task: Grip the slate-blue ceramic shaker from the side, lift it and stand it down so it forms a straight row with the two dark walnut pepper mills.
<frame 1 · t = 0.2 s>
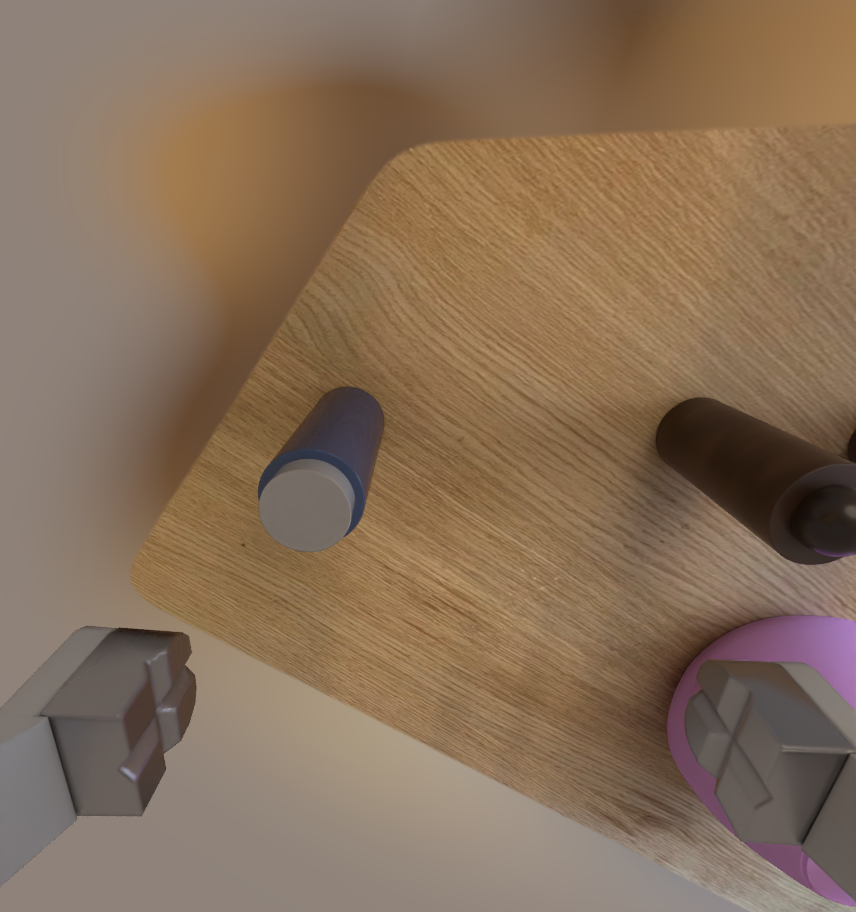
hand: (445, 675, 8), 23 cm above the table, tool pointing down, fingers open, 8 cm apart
blue shaker: (349, 421, 31), on the table
teapot: (756, 682, 39), on the table
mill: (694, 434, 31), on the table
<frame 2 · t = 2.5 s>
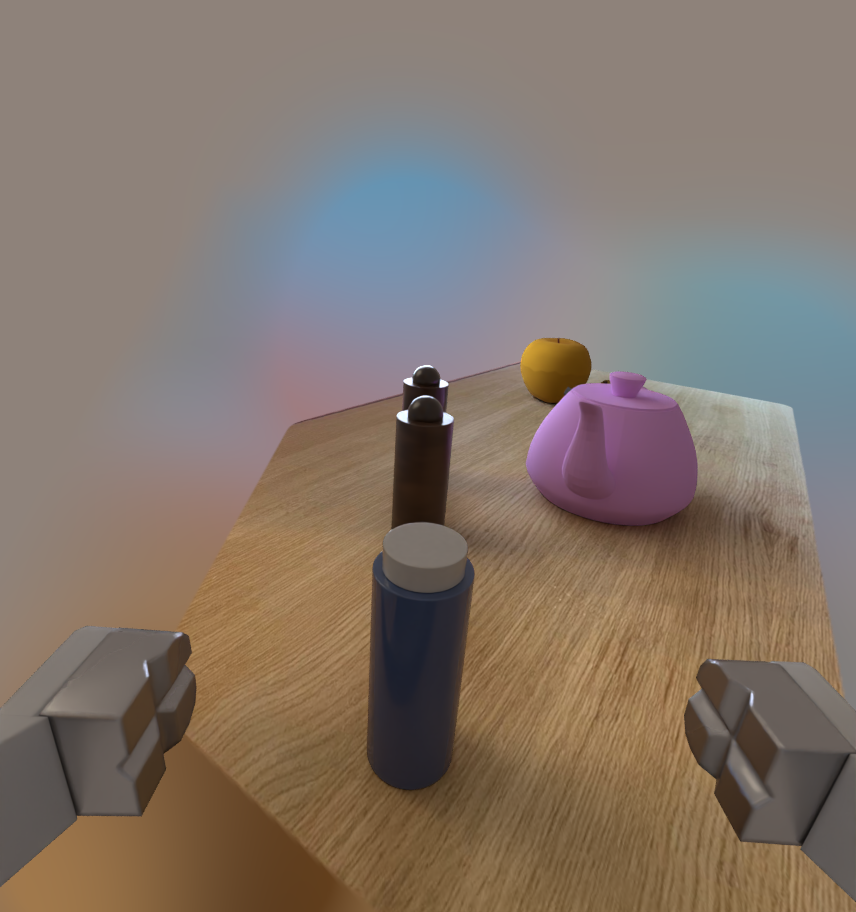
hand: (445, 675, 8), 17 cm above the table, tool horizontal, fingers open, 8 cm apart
blue shaker: (409, 747, 25), on the table
teapot: (599, 498, 55), on the table
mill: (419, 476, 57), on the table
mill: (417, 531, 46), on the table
banana: (606, 396, 100), on the table
apple: (550, 399, 95), on the table
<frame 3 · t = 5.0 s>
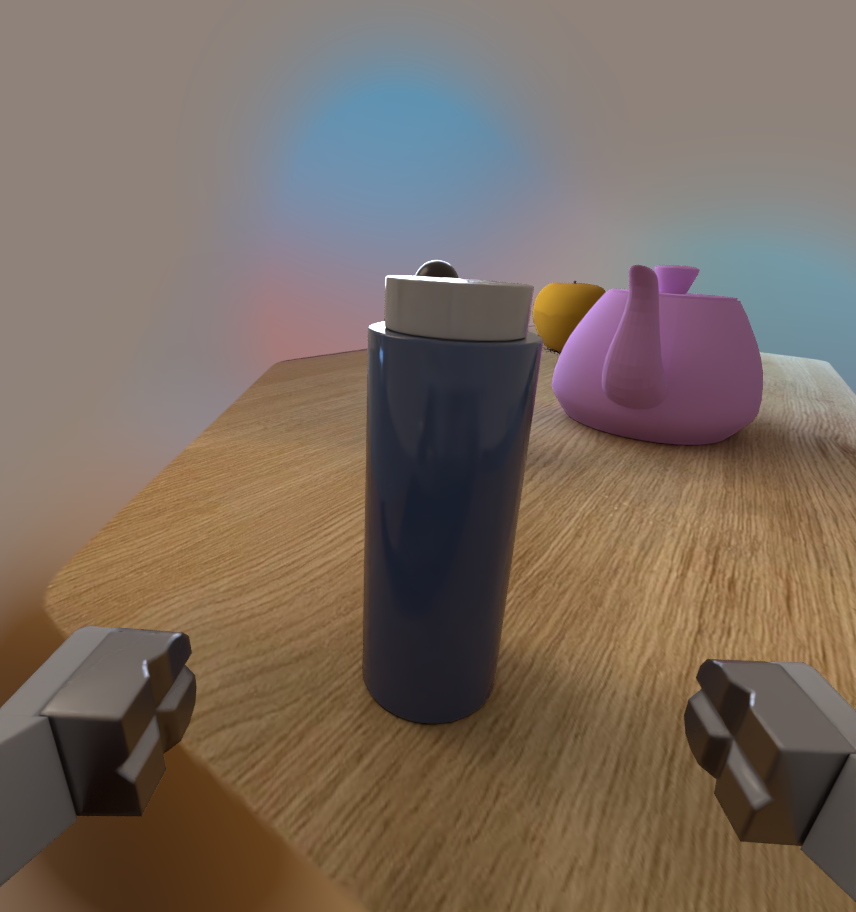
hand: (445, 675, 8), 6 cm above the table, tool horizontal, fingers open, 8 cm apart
blue shaker: (428, 667, 17), on the table
teapot: (639, 423, 46), on the table
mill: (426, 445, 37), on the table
apple: (565, 351, 86), on the table
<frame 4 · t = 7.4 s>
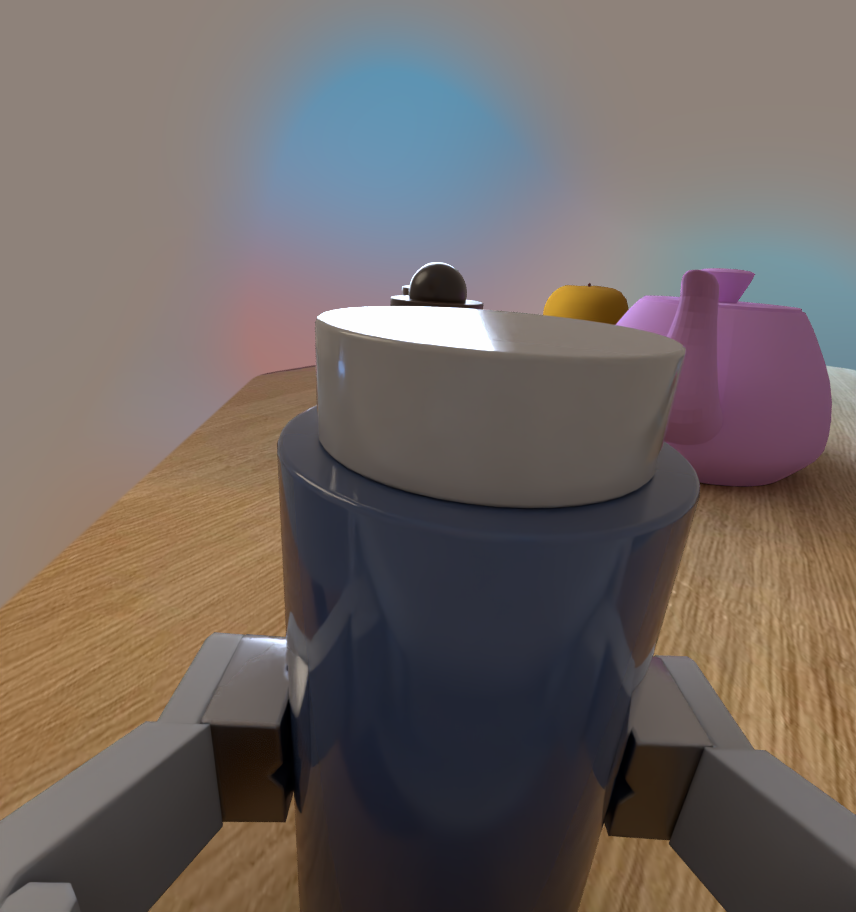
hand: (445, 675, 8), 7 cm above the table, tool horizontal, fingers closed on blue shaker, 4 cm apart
teapot: (676, 454, 39), on the table
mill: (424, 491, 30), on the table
apple: (578, 360, 79), on the table
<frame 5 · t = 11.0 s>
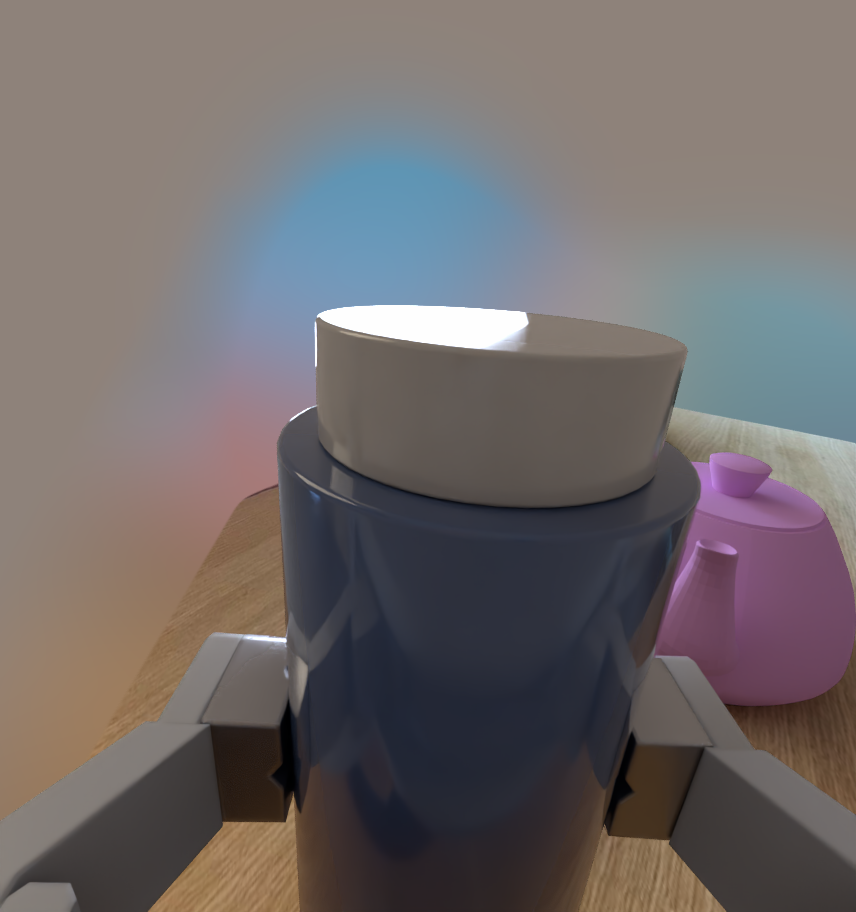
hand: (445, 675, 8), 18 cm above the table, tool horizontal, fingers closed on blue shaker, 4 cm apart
teapot: (685, 636, 37), on the table
when the fingers open (7 cm above the table, at t = 14.7 s): blue shaker stays where it is, on the table.
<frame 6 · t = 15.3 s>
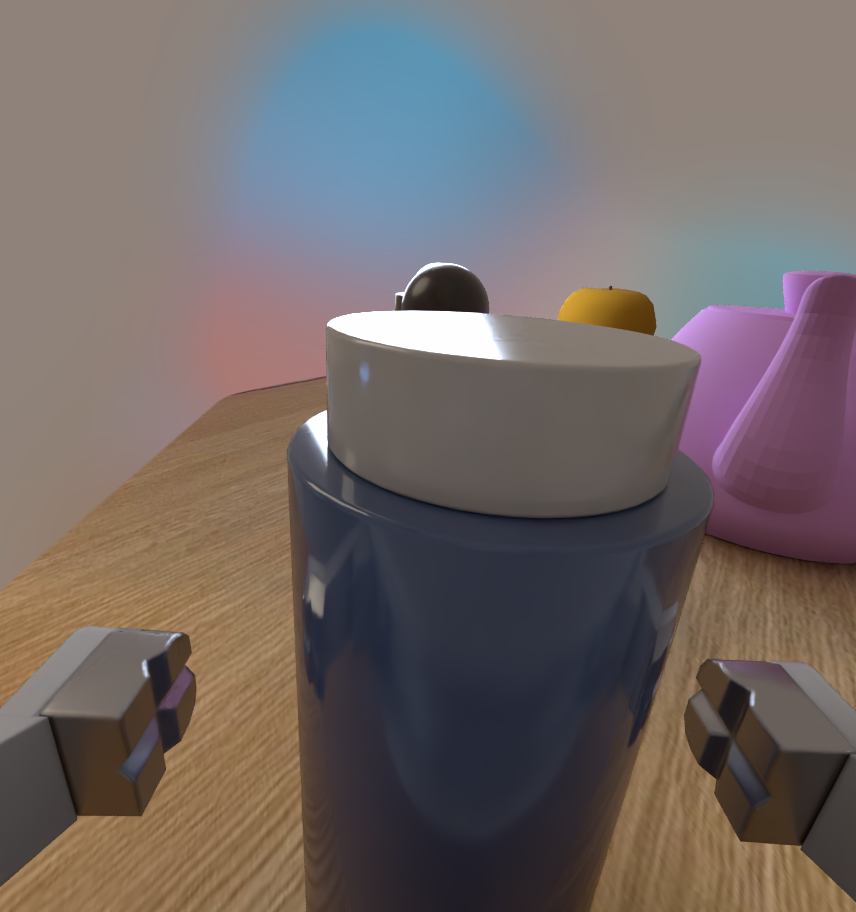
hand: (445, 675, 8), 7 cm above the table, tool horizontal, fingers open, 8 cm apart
teapot: (746, 508, 31), on the table
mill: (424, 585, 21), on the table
apple: (596, 372, 70), on the table
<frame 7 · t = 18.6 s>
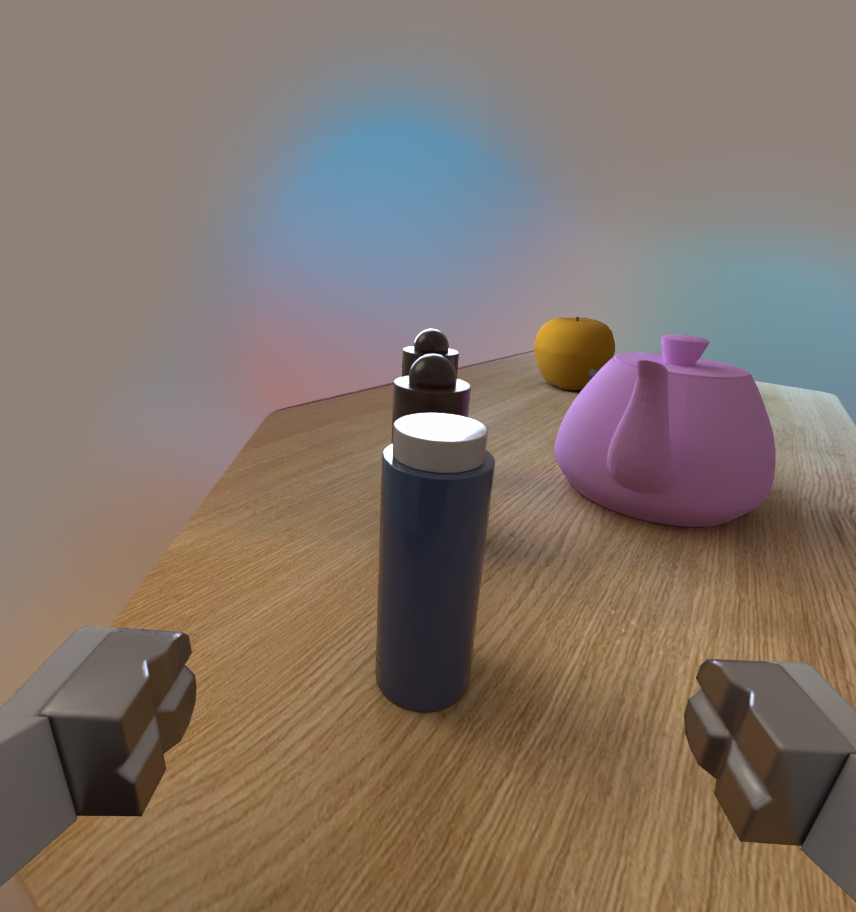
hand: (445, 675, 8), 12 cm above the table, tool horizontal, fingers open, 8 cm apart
blue shaker: (422, 672, 23), on the table
teapot: (645, 493, 45), on the table
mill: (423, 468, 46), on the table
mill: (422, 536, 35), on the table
apple: (567, 387, 84), on the table
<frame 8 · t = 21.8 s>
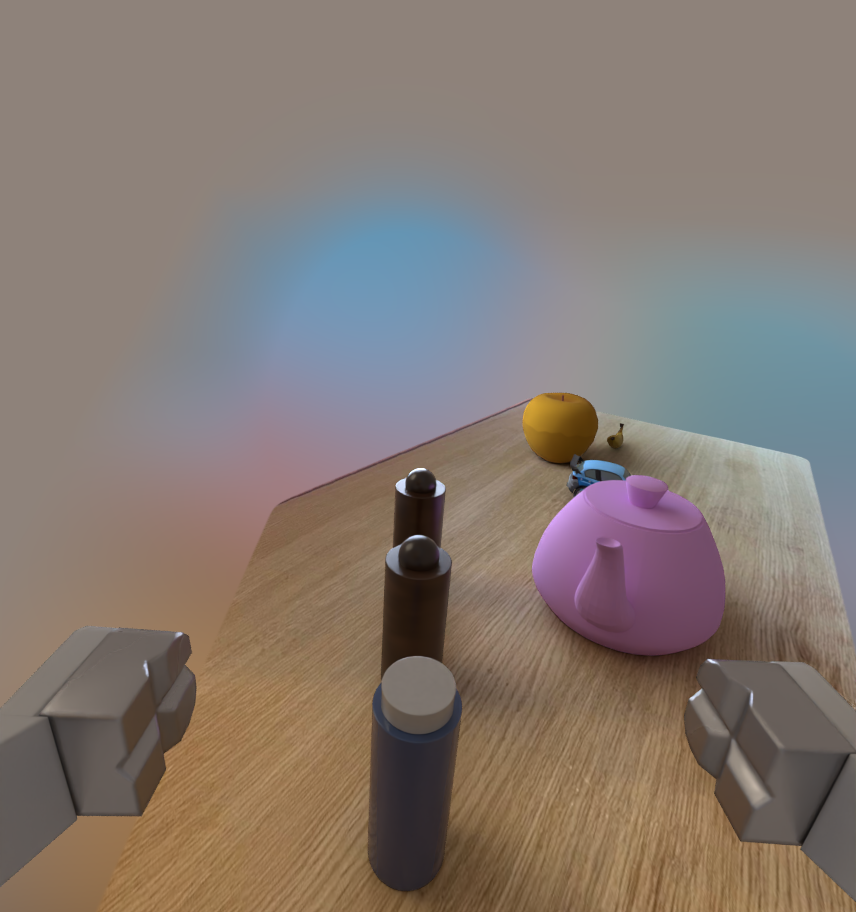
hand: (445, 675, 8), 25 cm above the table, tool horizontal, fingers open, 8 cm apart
blue shaker: (406, 846, 28), on the table
teapot: (613, 610, 50), on the table
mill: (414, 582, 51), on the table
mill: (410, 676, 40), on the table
banana: (613, 450, 95), on the table
toy car: (606, 502, 73), on the table
apple: (554, 457, 89), on the table
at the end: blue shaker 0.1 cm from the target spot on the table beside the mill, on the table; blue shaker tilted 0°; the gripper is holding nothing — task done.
